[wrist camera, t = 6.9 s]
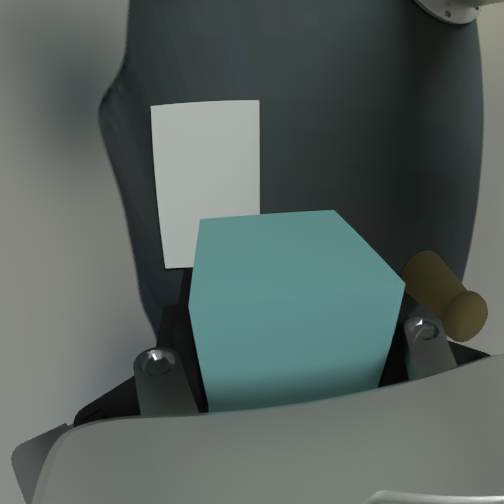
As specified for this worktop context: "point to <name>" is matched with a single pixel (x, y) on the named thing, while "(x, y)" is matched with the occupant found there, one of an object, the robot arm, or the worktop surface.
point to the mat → (203, 169)
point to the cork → (444, 295)
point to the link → (289, 309)
